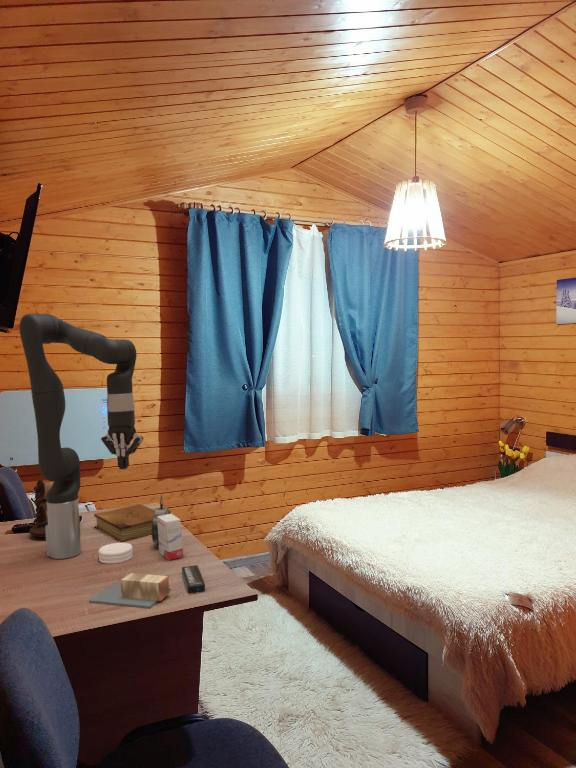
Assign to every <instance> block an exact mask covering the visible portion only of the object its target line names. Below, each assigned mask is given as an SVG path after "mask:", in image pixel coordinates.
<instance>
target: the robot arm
mask: <svg viewBox="0 0 576 768" xmlns="http://www.w3.org/2000/svg"><path fill="white" fill-rule="evenodd" d="M19 335H20V336H19V337H20V340H21V344H22V347H23V348H22V349H23V352H24V356H25V361H26V365H27V370H28V376H29V382H30V390H31V391H30V393H31V398H32V406H33V411H34V417H35V427H36V435H37V457H38V459H37V461H38V468H39V471H40V474H41V475H42V477H43V478H44V479H45V480H46V481H48V482H54V483H53V485H52V487H51V488H50V490H49V491H48V492H47V495H46V499H47V515H48V525H46V527H45V530H46V540H45V542H46V557H50V558H52V559H55V560H56V559H57V560H60V559H68V558H69V559H70V558H73V557H76V556H78V555H80V554H81V552H82V543H81V541H82V540H81V527H80V525H81V524H80V522H81V521H80V508H79V506H80V505H79V491H80V489H81V461H80V457H79V454H78V453H77V452H76V450H74V449H73V448H71V447H67V446H65V447H62V445H61V437H60V436H61V435H60V434H61V427H62V422H63V419H64V416H65V412H66V396H65V389H64V385H63V382H62V380H61V378H60V377H59V376H58V374H57V373H56V371H55V370H54V369H53V368H52V366H51V365H50V363H49V361H48V360H47V357H46V354H45V348H44V345H47V344H48V345H49V344H64V345H67V346H70V348H71V349H73V350H74V351H75V352H77V353H81V354H84V355H86V356H89V357H93V358H95V359H96V360H98V361H99V362H101V363H104V364H108V365H115V366H116V367H115V370H114V372H111V373H109V374H108V375H107V377H106V392H107V393H106V394H107V397H106V413H107V426H108V429H107V434H105V436H102V437H101V438H100V440H101V442H102V443H103V444H104V446H105V447H106V448H107V450H108V451H109V453H110V454H111V455H115V456H116V457H117V467H118V469H119V470H127V469H128V468H129V466H130V460H129V459H130V457H129V456H130V455H132V454H135V453H136V451H137V449H138V448H139V446H140V445H141V443H142V442H143V440H144V436H142V435H141V436H140V435H139V434H138V433H137V430H136V427H135V425H136V419H135V418H136V416H135V399H134V393H133V376H134V372H135V366H136V362H137V354H138V353H137V349H136V346H135V344H134V343H133V341H131V340H129V339H123V338H122V339H121V338H120V339H118V338H117V339H116V338H115V339H111V338H107V336H105V335H103V334H102V333H99V332H95V331H92V330H88V329H84V328H80V327H77V326H75V325H73V324H70V323H68V322H66V321H64V320H63V319H61V318H59V317H57V316H55V315H52V314H49V313H27V314H24V315H23V316H22V317H21V319H20V321H19Z"/></svg>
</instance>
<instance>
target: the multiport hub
mask: <svg viewBox="0 0 576 768" xmlns="http://www.w3.org/2000/svg"><path fill="white" fill-rule="evenodd" d="M181 575H183V576H182V579H183V578H184V579H183V581H184V585H185V588H187V589H186V592H187V594H188V593H192V594H197V593H196V592H198V593H202V592H201V591H204V592H206V583H205V581H204V578H203V576H202V573H201V570H200V568H199V566H198V565H188V566H183V567H181Z"/></svg>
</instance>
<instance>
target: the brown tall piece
mask: <svg viewBox="0 0 576 768" xmlns="http://www.w3.org/2000/svg"><path fill="white" fill-rule="evenodd" d="M53 483H54V481H48V482H44V481H43V479H38V480H37V482H36V485H35V486H34V487H33V491H34V494H35V495H34V501H33V504H34V505H35V506H34V507H35V512H36V513H35V515H34V517H35V520H36V522H35V523H36V524H35V525H33V526H32V527H31V528H30V529H28V530H29V531H28V532H29V535H30V536H32V537H36V538H38V537H39V538H40V537H41V538H44V540H45V541H46V530H45V527H46V525H48V515H47V499H46V495H47V492H48V491H49V490H50V488H51V487H52V485H53Z"/></svg>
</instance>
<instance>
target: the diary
mask: <svg viewBox="0 0 576 768" xmlns="http://www.w3.org/2000/svg"><path fill="white" fill-rule="evenodd" d="M154 510H155V509H153V508H151V507H148V506H146V505H144V504H140V503H138V504H134V505H130V506H126V507H120V508H115V509H110V510H106V511H102V512H96V513H94V514H93V516H94V517H95V518H96V525H95V526H94V528H95V527H96V528H98V529H99V530H98V529H97V530H98V531H100V530H101V531H100V532H102V531H103V532H104V533H103V532H102V533H103V534H105V533H106V534H105V535H107V536H109V537H110V536H111V538H112V537H113V539H114V538H115V539H114V540H116V541H117V540H118V541H117V542H119V541H120V542H119V543H126V542H130V541H134V540H137V539H142V538H145V537H149V535H150V536H152V519H153V514H154ZM96 528H95V529H96Z"/></svg>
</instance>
